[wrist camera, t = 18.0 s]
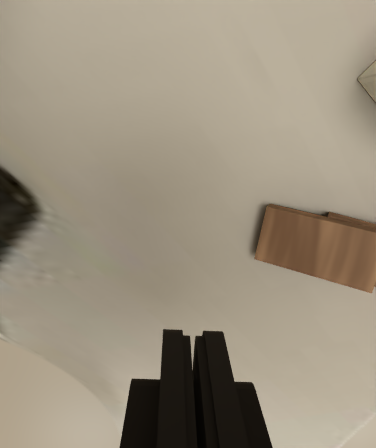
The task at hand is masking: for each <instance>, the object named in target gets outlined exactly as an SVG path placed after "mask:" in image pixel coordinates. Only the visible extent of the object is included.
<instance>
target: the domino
mask: <svg viewBox="0 0 376 448" xmlns="http://www.w3.org/2000/svg"><path fill="white" fill-rule="evenodd" d="M254 259H256V260H260V261H263V262H267V263H270V264H273V265H277V266H280V267H284V268H287V269H291V270H294V271H297V272H301V273H304V274H308V275H311V276H315V277H318V278H321V279H325V280H328V281H332V282H335V283H338V284H342V285H345V286H349V287H352V288H356V289H359V290H362V291H366V292H369V293H372V291H373V288H374V285H375V282H376V228H372V227H367V226H363V225H359V224H355V223H350V222H346V221H342V220H338V219H333V218H329V217H325V216H321V215H316V214H312V213H308V212H304V211H299V210H295V209H291V208H287V207H282V206H278V205H274V204H269V205H268V206H267V207H266V212H265V216H264V220H263V224H262V228H261V233H260V237H259V241H258V245H257V250H256V254H255V258H254Z"/></svg>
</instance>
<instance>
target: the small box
mask: <svg viewBox="0 0 376 448" xmlns="http://www.w3.org/2000/svg"><path fill="white" fill-rule="evenodd" d="M358 81H359V82H360V83H361V84H362V86H363V87H364V88H365V90H366V91H367V92H368V93H369V95H370V96H371V97H372V98H373V100H374V101H375V102H376V61H375V62H374V63H373V64H372V65H371V66H370V67H369V68H368V69H367V70H366V71H365V72H364V73H363V74H362V75H361V76H359V78H358Z"/></svg>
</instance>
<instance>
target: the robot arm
mask: <svg viewBox="0 0 376 448" xmlns="http://www.w3.org/2000/svg"><path fill="white" fill-rule="evenodd" d="M120 448H272V444H271V441H270V438H269V434H268V431H267V427H266V424H265V421H264V417H263V414H262V411H261V407H260V404H259V400H258V397H257V394H256V390H255V387H254V385H253V383H252V382H234V378H233V373H232V369H231V364H230V360H229V356H228V351H227V347H226V342H225V338H224V334H223V332H220V331H203V335H202V336H196V337H195V347H194V359H193V371H192V358H191V344H190V336H185V335H183V331H182V330H167V329H163V344H162V361H161V379H160V380H157V379H132V380H131V384H130V390H129V396H128V402H127V408H126V414H125V420H124V425H123V431H122V437H121V443H120Z"/></svg>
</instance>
